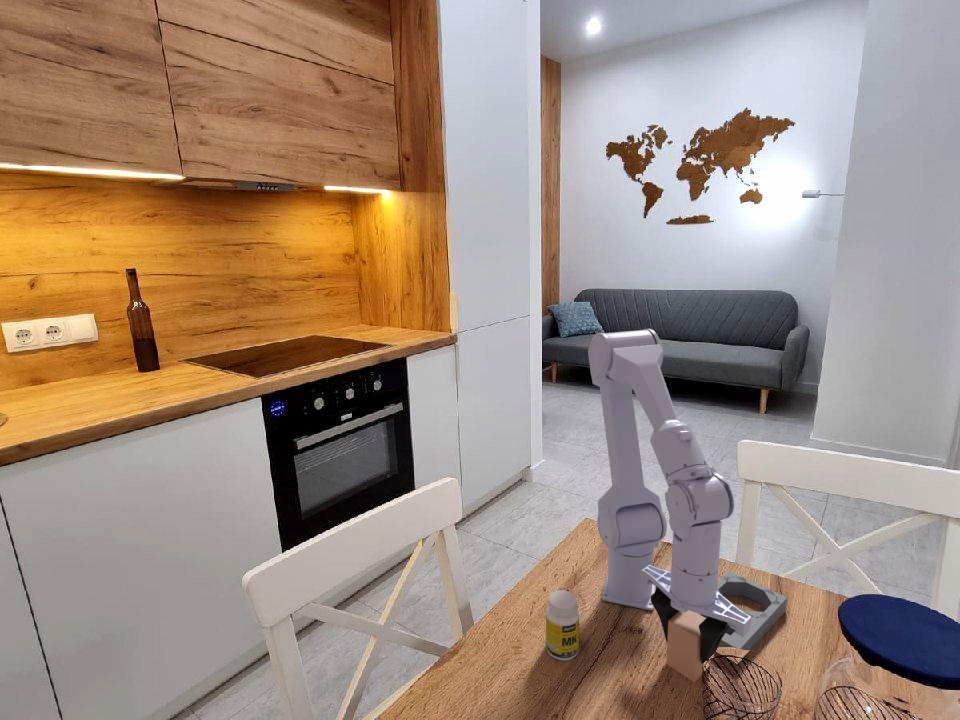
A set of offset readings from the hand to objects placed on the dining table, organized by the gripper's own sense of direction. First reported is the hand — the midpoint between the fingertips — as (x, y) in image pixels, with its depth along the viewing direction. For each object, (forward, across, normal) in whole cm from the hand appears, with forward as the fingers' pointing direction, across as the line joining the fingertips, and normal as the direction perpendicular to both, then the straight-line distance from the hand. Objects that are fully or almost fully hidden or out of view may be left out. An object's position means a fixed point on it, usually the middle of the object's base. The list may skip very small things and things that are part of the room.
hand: (689, 649), depth 72 cm
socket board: (+2, 0, +13) cm, 13 cm away
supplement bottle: (+3, -14, -11) cm, 18 cm away
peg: (+2, 0, 0) cm, 2 cm away
